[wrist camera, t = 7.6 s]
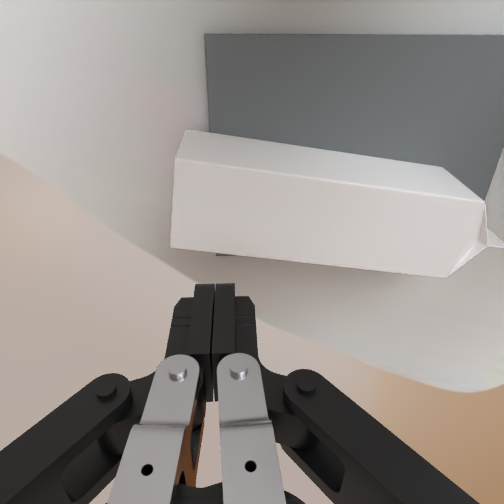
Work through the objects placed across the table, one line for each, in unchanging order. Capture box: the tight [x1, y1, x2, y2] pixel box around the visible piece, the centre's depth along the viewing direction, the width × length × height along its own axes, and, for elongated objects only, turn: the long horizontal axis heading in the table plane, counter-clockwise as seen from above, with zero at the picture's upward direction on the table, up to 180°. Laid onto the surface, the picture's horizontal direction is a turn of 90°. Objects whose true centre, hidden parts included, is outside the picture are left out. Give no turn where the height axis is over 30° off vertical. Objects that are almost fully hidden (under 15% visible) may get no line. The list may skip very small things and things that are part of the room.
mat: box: [205, 34, 504, 256], centre depth 29 cm, size 16×21×1 cm
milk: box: [170, 129, 504, 279], centre depth 27 cm, size 6×6×22 cm
